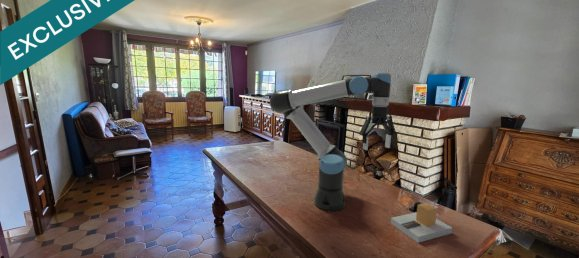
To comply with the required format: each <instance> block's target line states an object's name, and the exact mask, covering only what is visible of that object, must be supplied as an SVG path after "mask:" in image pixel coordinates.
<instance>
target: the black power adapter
mask: <svg viewBox="0 0 579 258" xmlns="http://www.w3.org/2000/svg"><path fill="white" fill-rule="evenodd" d="M419 204H423V202H421V201H418V202H415V203H414V204H413V206H414V207H413V206H410V207H411V208H410V207H408V208H409V211H410V212H411V213H415V212H417V206H418V205H419Z"/></svg>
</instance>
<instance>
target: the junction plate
mask: <svg viewBox="0 0 579 258" xmlns="http://www.w3.org/2000/svg"><path fill="white" fill-rule="evenodd" d="M416 214H417V212H415V213H414V212H411V213H407V214H402V215H398V216H393V217H391V218H390V224H391V225H392V226H394V228H395V227H396V229H398V230H400V231H401V232H402V233H404V234H405V235H406V236H408V237H409V238H410V239H412V240H414V241H415V242H416V243H417V244H418V243H423V242H425V241H430V240H433V239H436V238H439V237H444V236H447V235H451V234H452V233H453V227H452V226H450V225H448V224H447V223H445V222H443V221H442V220H439V218H436V222H435V225H431V226H427V227H426V226H424V225H423V224H421V223H419V222H418V221H416Z"/></svg>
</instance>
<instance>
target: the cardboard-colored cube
mask: <svg viewBox="0 0 579 258" xmlns="http://www.w3.org/2000/svg"><path fill="white" fill-rule="evenodd" d="M437 212H438V208H437V207H435V206H433V205H431V204H430V203H428V202H425V203H422V204H419V205H418V206H417V214H416V221H418V222H419V223H421V224H423V225H424V226H426V227H427V226H431V225H435V222H436V219H437V214H438V213H437Z"/></svg>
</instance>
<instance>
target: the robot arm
mask: <svg viewBox="0 0 579 258" xmlns="http://www.w3.org/2000/svg"><path fill="white" fill-rule="evenodd" d="M391 85H392V75H391V74H390V73H389V72H388V73H387V72H386V73H385V72H381V73H380V72H378V73H377V72H376V73H375V74H374V76H373V77H371V76H370V77H369V76H367V77H365V76H362V75H358V76H353V77H349V78H346V79H342V80H338V81H333V82H328V83H324V84H319V85H314V86H310V87H305V88H301V89H296V90H293V89H284V90H282V89H281V90H277V91H274V92H273V93H272V94H271V95H270V98H269V107H270V108H271V110H273V112H274V113H277V114H282V115H283V116H284V117H285V118H286V119H287V120H291V122H292V123H293V124H294V126H296V128H297V129H298V131H299V132H300V133H301V135H302V136H303V137H304V139H306V141H307V143H309V145H310V146H311V148H312V149H314V151H315V152H316V154H317V160H318V161H319V163H318V183H317V184H318V187H317V190H316V192H315V196H314V199H313V200H314V202H313V204H314V205H315V206H316V207H318V208H319V209H321V210H324V211H330V212H336V211H340V210H342V209H344V208H345V206H346V197H345V194H344V191H343V188H344V187H343V186H344V184H343V183H344V174H345V171H346V168H347V165H348V158H347V155H345V154H346V153H344V152H343V151H341V150H339V148H338V147H337V146H336V145H334V144H331V143H330V141H328V139H327V138H326V137H325V135H324V134H323V133H322V132H321V130H320V129H319V128H318V127H317V125H316V124H315V123H314V121H313V120H312V119H311V118H310V116H309V115H308V114H307V112H305V109H304V106H305V105H306V106H307V105H310V104H315V103H320V102H326V101H330V100H335V99H340V98H345V97H351V96H354V95H355V96H356V95H362V94H372V102H371V105H372V106H371V116H370V115H366V117H365V121H364V123H363V125H362V127H361V129H360V131H359V136H362V138H361V139H362V140H361V141H362V150H365V151H368V148H369V138H370V137H369V136H368V135H370V133H371V132H372V130H373V129H374V128H375V127H377V126H382V127H383V129H384V130H385V132H386V133H387V134H385V142H384V147H385V148H388V149H391V142H392V140H393V139H392V137H393V136H394V135H395V134H396V133H397V131H396V129H395V125H394V122H393V115H389V107H388V106H390V105H389V104H390V96H391V95H390V92H391Z"/></svg>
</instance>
